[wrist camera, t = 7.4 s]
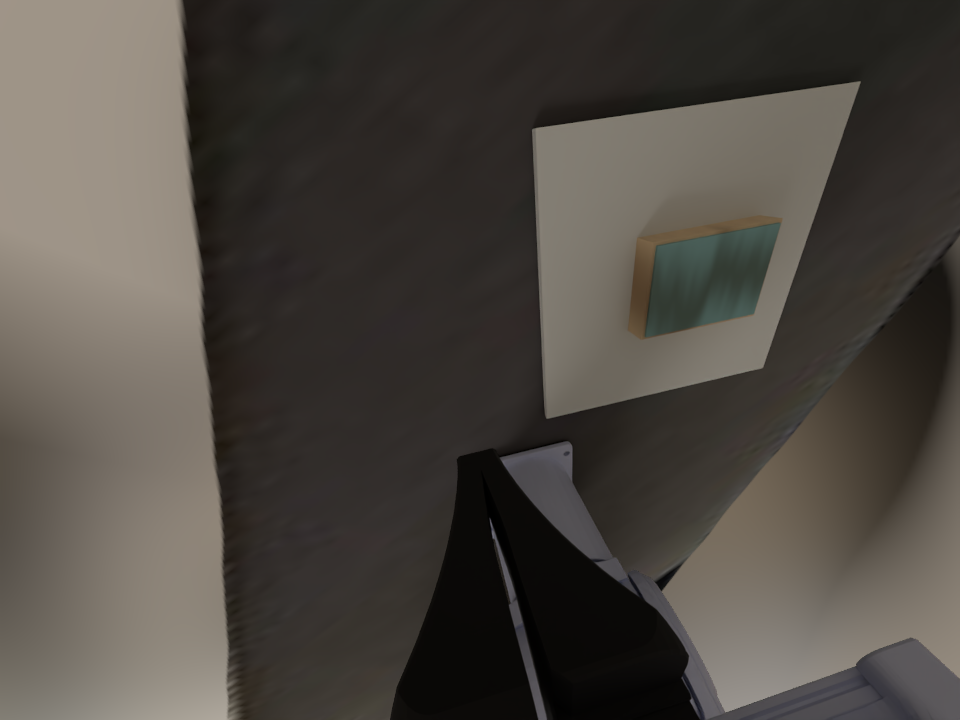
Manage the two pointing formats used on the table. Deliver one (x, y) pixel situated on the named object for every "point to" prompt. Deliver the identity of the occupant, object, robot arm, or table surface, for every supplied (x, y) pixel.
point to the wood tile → (700, 275)
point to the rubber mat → (664, 208)
